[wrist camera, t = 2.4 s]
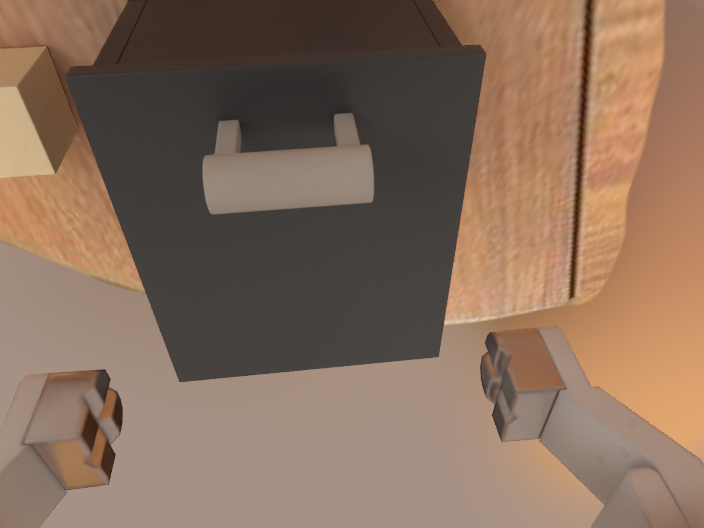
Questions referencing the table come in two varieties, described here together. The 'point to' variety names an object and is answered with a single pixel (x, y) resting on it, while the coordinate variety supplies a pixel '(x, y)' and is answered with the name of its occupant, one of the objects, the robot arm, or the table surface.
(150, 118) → the lid
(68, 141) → the block
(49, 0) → the table surface
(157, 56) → the dark grey box
